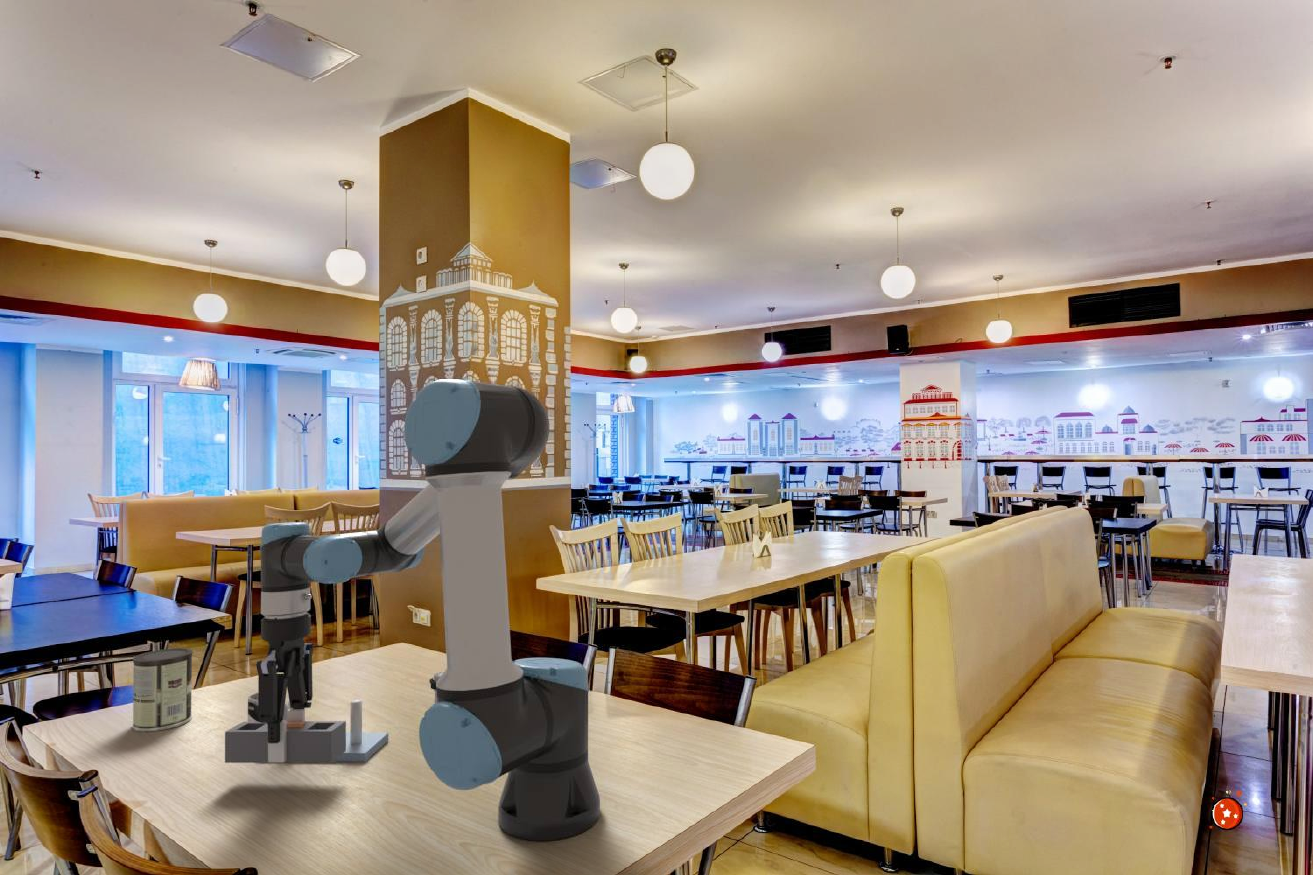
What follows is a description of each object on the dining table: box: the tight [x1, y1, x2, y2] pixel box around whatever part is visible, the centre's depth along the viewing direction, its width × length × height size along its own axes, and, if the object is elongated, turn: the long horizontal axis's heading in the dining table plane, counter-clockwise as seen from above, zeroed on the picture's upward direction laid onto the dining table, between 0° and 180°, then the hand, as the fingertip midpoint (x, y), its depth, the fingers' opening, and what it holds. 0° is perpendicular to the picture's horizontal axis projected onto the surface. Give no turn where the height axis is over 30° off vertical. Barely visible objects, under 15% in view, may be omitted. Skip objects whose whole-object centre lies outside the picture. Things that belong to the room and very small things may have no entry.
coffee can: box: [132, 647, 194, 733], centre depth 153 cm, size 10×10×14 cm
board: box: [287, 699, 389, 763], centre depth 138 cm, size 10×20×9 cm, turn 87°
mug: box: [247, 692, 288, 722], centre depth 149 cm, size 10×7×7 cm, turn 62°
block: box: [224, 720, 347, 764], centre depth 124 cm, size 18×5×6 cm, turn 87°
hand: (286, 754), depth 124 cm, fingers closed on block, 5 cm apart
